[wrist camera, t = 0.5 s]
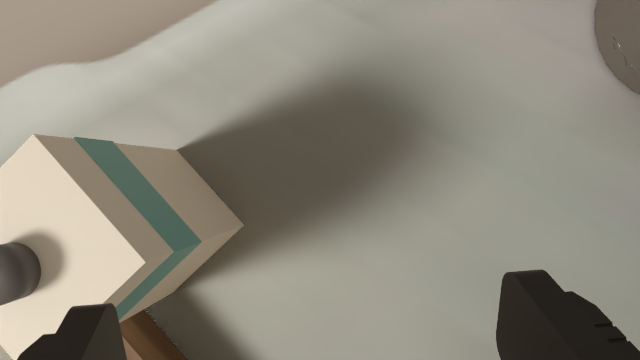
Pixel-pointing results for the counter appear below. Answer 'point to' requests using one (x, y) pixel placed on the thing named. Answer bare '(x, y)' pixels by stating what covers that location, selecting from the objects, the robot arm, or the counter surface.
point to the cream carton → (98, 231)
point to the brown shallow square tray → (146, 340)
